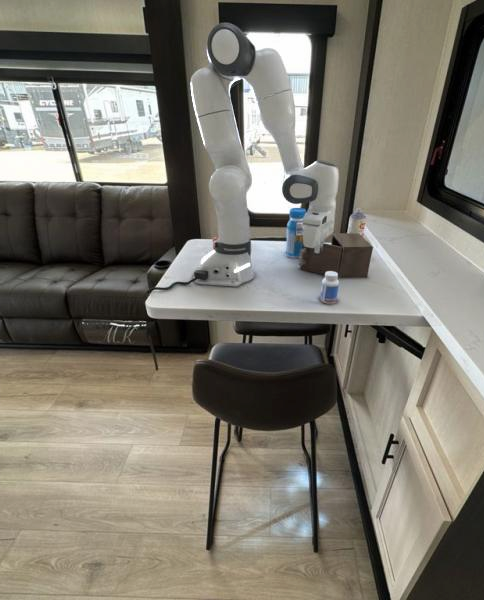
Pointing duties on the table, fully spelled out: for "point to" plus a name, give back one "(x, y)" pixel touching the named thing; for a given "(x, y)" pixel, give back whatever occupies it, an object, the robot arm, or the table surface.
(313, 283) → the table surface
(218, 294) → the table surface
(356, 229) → the aerosol can
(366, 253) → the cupboard
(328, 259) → the cupboard door
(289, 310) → the table surface
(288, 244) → the beverage bottle
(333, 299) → the pill bottle
